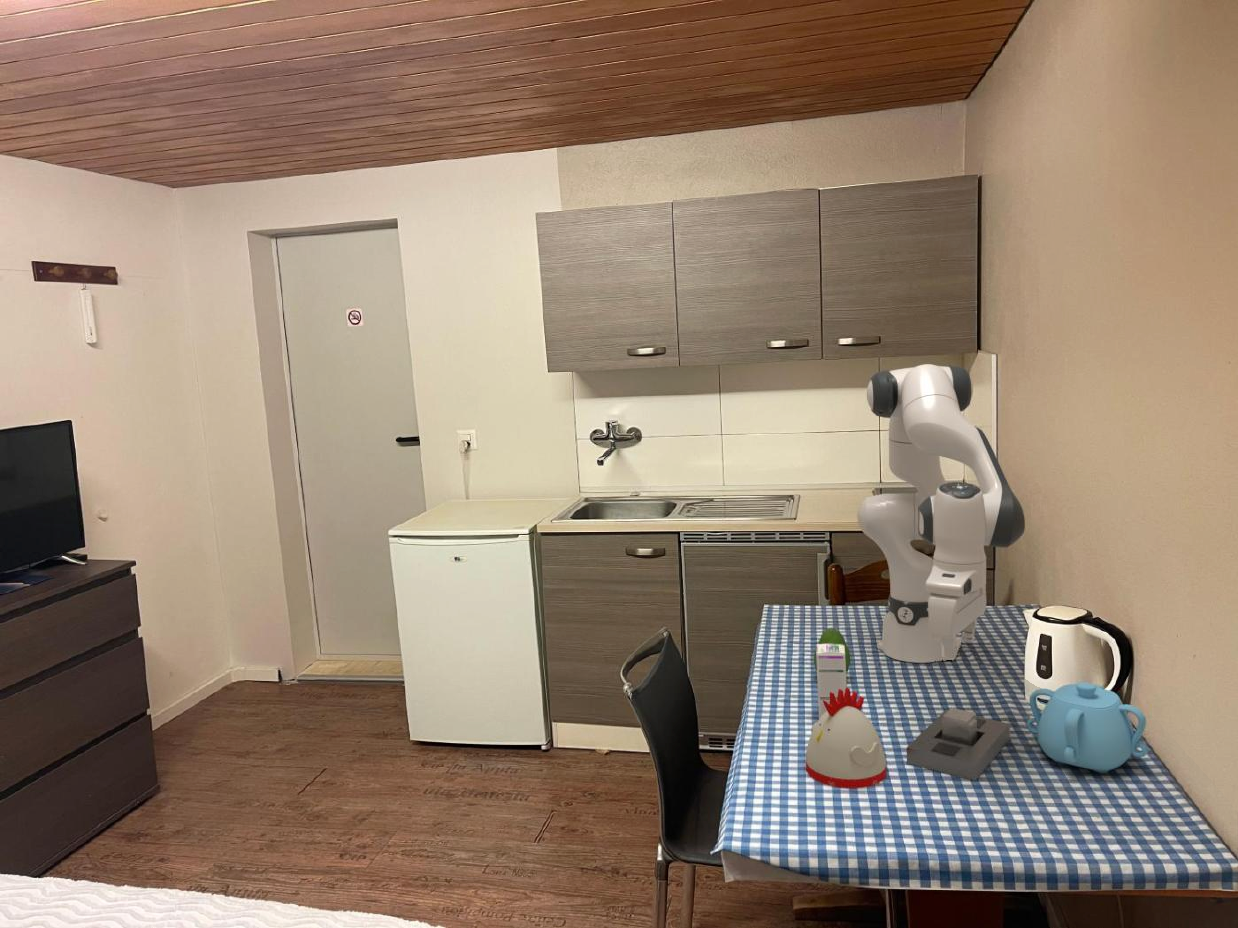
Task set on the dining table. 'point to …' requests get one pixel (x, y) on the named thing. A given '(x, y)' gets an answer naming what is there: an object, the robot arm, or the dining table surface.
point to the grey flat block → (958, 749)
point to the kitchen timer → (845, 745)
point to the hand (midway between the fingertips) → (959, 648)
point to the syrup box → (830, 672)
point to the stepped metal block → (959, 727)
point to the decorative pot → (1087, 727)
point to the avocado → (834, 638)
